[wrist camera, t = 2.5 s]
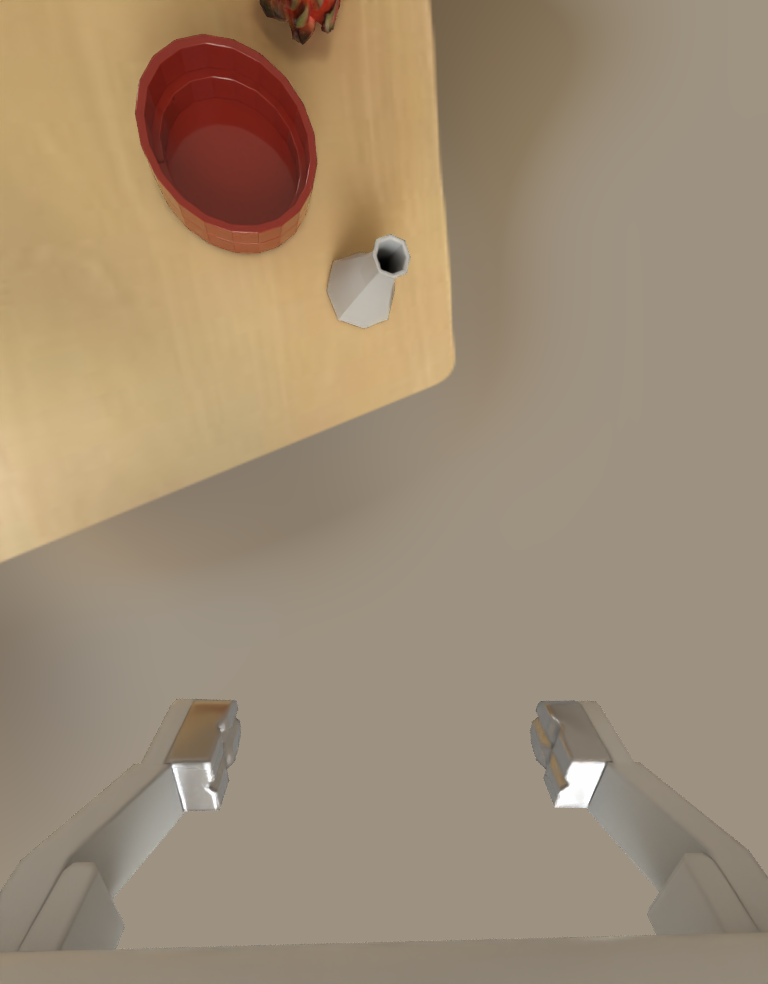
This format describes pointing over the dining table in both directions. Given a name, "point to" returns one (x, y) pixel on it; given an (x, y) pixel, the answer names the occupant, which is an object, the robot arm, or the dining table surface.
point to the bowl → (227, 142)
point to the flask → (368, 282)
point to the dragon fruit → (303, 15)
